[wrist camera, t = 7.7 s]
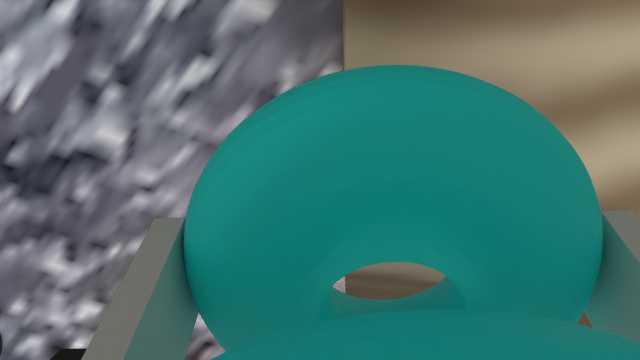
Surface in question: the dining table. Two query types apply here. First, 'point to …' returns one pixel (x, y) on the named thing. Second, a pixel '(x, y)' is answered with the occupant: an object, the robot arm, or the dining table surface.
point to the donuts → (398, 225)
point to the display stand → (517, 84)
